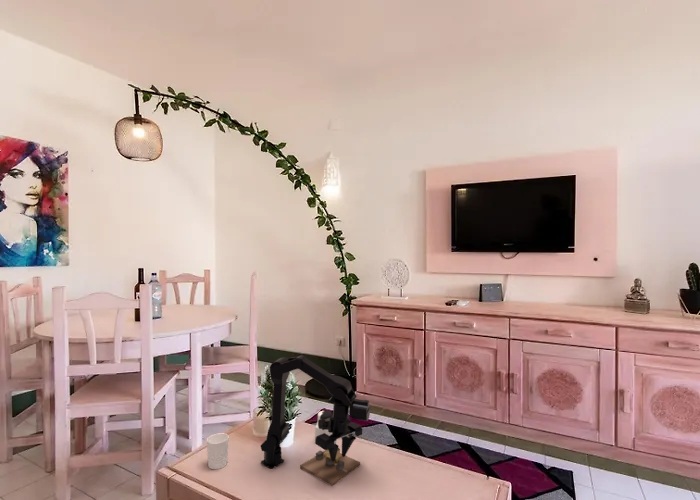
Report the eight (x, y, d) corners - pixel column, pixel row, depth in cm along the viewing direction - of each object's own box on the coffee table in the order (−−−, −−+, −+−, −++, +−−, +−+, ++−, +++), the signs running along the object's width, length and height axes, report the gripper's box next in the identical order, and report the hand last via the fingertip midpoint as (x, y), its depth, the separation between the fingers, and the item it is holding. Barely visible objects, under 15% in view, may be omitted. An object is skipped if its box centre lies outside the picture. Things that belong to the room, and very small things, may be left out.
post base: (300, 468, 140) (300, 458, 140) (328, 450, 153) (329, 441, 153) (332, 485, 130) (332, 474, 130) (360, 465, 143) (360, 455, 143)
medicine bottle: (334, 436, 164) (334, 409, 164) (331, 445, 157) (331, 416, 157) (318, 435, 165) (318, 408, 165) (314, 444, 158) (315, 415, 158)
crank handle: (331, 468, 133) (331, 452, 133) (319, 448, 146) (319, 433, 146) (343, 465, 135) (343, 449, 135) (330, 446, 148) (330, 431, 148)
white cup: (211, 473, 137) (211, 445, 137) (203, 463, 143) (203, 437, 143) (232, 465, 142) (232, 438, 142) (223, 456, 148) (223, 431, 148)
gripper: (343, 402, 149) (341, 441, 149) (306, 414, 136) (304, 458, 136) (364, 411, 141) (362, 453, 141) (327, 426, 128) (324, 472, 128)
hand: (338, 458), depth 136 cm, fingers open, 5 cm apart
